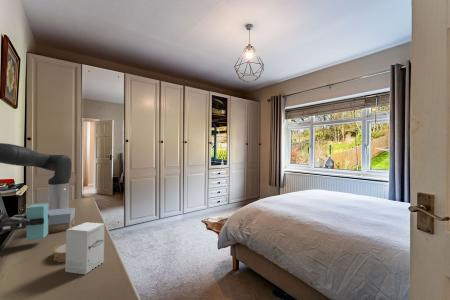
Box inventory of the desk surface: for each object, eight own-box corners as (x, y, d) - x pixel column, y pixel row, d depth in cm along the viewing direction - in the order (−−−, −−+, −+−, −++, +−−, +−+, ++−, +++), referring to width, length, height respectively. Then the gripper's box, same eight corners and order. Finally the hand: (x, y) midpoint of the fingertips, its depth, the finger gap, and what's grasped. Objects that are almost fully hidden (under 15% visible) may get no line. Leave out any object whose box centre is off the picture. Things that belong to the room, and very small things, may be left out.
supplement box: (85, 275, 63) (86, 231, 63) (64, 272, 65) (64, 229, 65) (104, 262, 70) (105, 223, 70) (85, 260, 72) (85, 221, 72)
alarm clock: (51, 245, 76) (99, 228, 86) (54, 258, 77) (101, 240, 86) (52, 257, 68) (105, 237, 77) (55, 272, 68) (108, 250, 78)
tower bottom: (47, 226, 104) (47, 218, 104) (75, 223, 108) (75, 215, 108) (38, 234, 94) (38, 225, 94) (69, 231, 98) (69, 222, 98)
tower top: (46, 218, 103) (47, 210, 104) (74, 215, 108) (74, 207, 108) (39, 225, 94) (39, 216, 94) (70, 222, 98) (70, 213, 98)
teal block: (32, 235, 85) (32, 204, 85) (48, 233, 87) (48, 203, 87) (26, 240, 80) (26, 207, 80) (43, 238, 82) (43, 206, 82)
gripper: (-27, 220, 71) (39, 214, 78) (-2, 208, 84) (52, 204, 91) (-27, 243, 71) (39, 235, 78) (-2, 228, 84) (52, 222, 91)
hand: (46, 218), depth 85 cm, fingers closed on teal block, 5 cm apart
